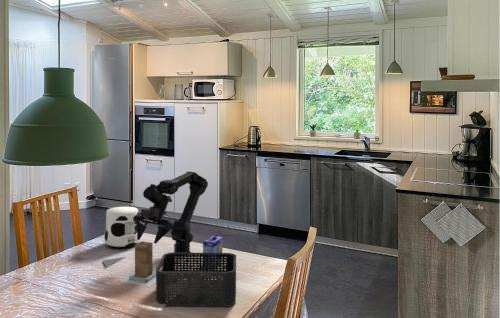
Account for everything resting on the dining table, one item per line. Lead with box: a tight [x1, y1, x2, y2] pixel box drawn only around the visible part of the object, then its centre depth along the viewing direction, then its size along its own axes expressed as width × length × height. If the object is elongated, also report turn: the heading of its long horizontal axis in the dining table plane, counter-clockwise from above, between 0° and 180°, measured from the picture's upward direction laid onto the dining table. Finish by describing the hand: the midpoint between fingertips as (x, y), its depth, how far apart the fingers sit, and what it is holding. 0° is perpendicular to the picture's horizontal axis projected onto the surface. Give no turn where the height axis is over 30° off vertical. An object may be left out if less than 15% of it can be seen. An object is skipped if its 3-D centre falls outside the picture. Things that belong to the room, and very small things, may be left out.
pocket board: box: [118, 270, 156, 288], centre depth 166 cm, size 14×14×2 cm
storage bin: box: [155, 252, 237, 308], centre depth 152 cm, size 29×19×13 cm
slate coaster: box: [102, 256, 126, 269], centre depth 182 cm, size 10×10×1 cm
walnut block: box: [134, 241, 154, 278], centre depth 165 cm, size 5×5×14 cm
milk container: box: [104, 206, 141, 249], centre depth 206 cm, size 17×17×18 cm
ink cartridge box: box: [202, 233, 224, 268], centre depth 182 cm, size 10×6×14 cm, turn 158°
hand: (146, 241), depth 173 cm, fingers open, 9 cm apart
